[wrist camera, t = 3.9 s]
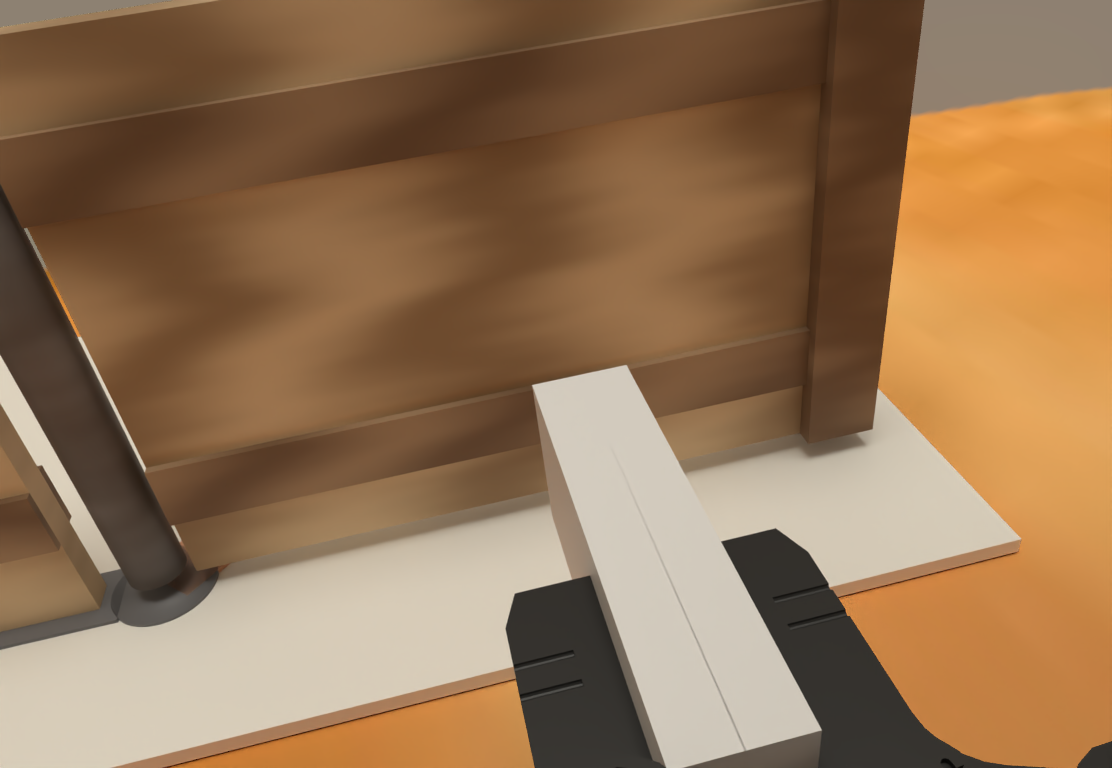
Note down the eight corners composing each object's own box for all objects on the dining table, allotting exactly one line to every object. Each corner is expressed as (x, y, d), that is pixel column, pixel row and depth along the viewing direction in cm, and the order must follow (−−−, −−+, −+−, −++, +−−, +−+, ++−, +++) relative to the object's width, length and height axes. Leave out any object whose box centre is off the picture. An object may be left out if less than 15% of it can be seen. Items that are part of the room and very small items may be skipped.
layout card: (711, 221, 37) (711, 210, 36) (1017, 551, 20) (1022, 535, 20) (-204, 402, 32) (-212, 391, 32) (-748, 998, 16) (-775, 986, 16)
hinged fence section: (121, 602, 21) (-254, -43, 13) (135, 550, 22) (-193, -58, 14) (872, 429, 23) (950, -214, 15) (839, 391, 24) (895, -212, 16)
